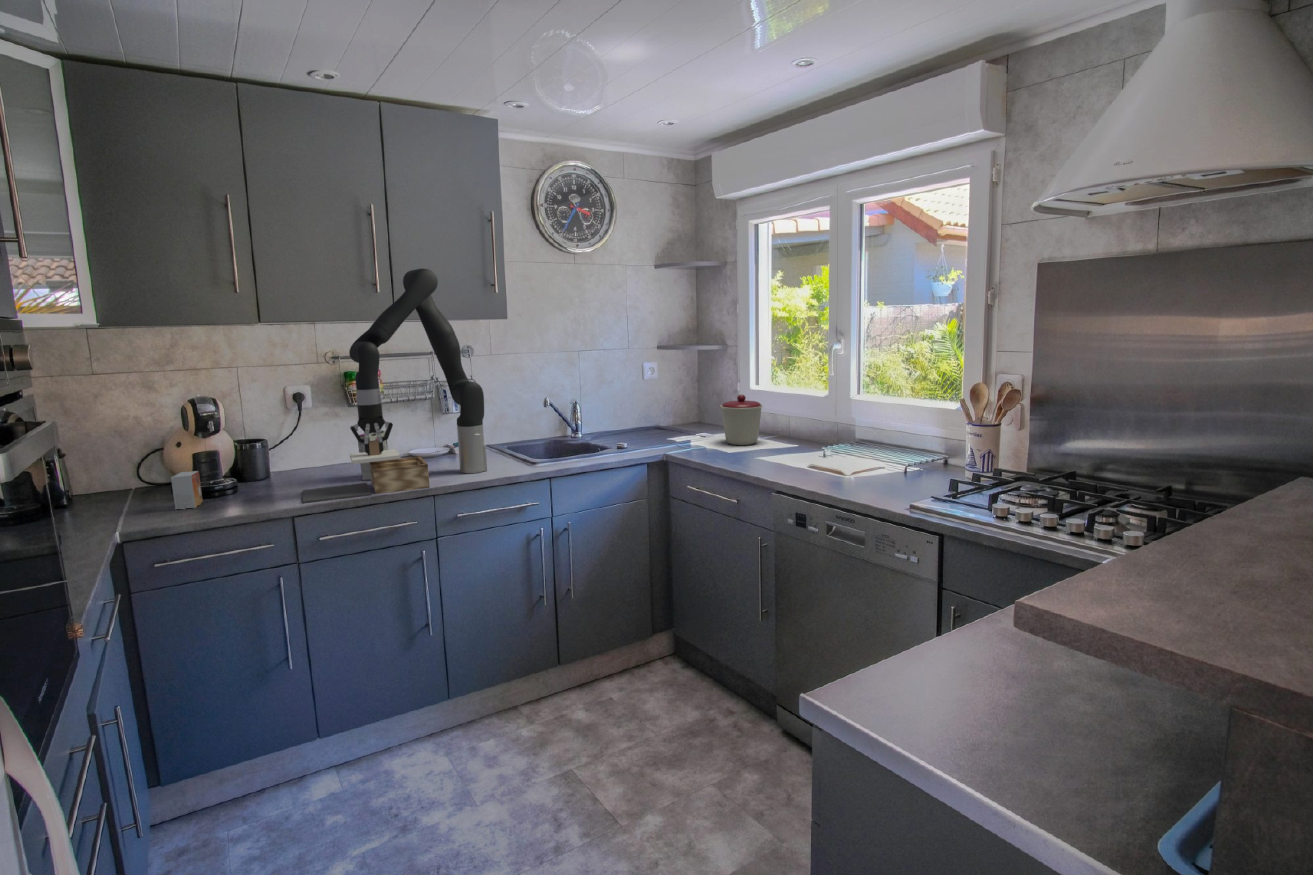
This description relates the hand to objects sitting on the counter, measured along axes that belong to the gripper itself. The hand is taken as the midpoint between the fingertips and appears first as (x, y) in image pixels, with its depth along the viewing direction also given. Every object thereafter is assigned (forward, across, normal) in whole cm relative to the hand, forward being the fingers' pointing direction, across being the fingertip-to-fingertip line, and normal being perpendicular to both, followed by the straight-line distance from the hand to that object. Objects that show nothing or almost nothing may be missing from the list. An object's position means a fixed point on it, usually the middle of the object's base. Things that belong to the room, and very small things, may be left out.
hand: (374, 453), depth 244 cm
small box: (+12, +55, -6) cm, 56 cm away
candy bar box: (+12, -1, -20) cm, 23 cm away
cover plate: (+2, 0, 0) cm, 2 cm away
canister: (+14, -147, -5) cm, 148 cm away
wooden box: (+12, -7, 0) cm, 14 cm away
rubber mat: (+12, +13, 0) cm, 18 cm away
